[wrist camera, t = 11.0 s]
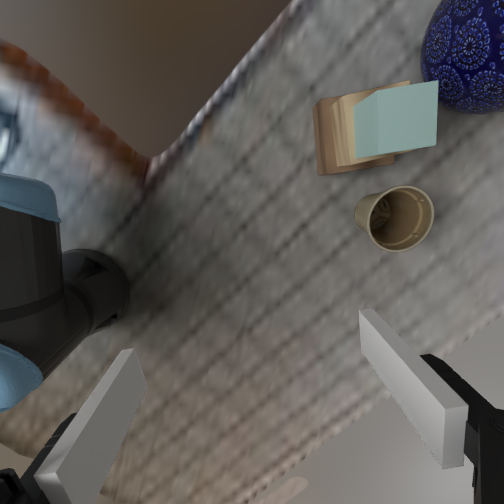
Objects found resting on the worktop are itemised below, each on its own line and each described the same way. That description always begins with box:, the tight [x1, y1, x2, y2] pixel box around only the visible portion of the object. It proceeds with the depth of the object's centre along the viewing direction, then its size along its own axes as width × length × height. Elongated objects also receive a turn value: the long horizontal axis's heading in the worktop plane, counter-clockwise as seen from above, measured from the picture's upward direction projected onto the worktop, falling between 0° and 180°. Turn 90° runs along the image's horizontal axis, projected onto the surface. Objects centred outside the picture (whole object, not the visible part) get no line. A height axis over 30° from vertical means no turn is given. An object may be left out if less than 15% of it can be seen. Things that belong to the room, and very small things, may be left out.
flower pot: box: [355, 185, 434, 252], centre depth 41 cm, size 9×9×9 cm
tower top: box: [330, 80, 413, 166], centre depth 34 cm, size 8×8×5 cm
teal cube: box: [353, 80, 438, 159], centre depth 29 cm, size 6×6×6 cm
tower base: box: [313, 95, 395, 175], centre depth 39 cm, size 10×10×5 cm
